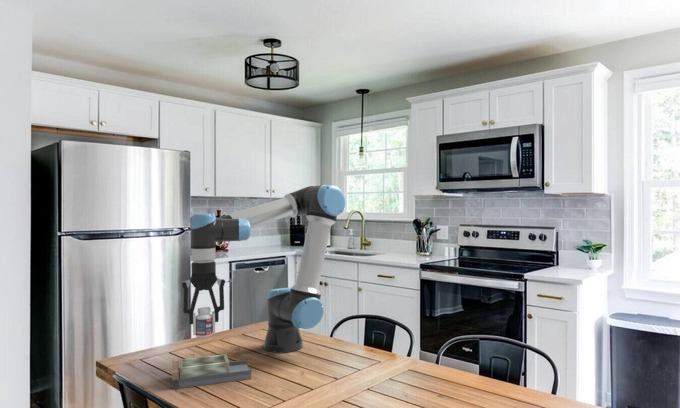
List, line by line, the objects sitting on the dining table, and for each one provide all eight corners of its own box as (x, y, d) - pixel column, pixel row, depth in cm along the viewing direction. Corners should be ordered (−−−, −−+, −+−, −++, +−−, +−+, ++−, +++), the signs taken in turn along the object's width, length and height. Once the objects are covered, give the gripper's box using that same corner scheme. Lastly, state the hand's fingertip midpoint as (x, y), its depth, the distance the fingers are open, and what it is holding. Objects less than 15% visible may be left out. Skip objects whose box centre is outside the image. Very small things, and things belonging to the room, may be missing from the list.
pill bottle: (207, 338, 148) (207, 310, 149) (192, 337, 150) (192, 309, 150) (215, 333, 154) (215, 306, 154) (200, 332, 155) (200, 306, 155)
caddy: (226, 366, 158) (226, 354, 158) (229, 375, 150) (229, 362, 150) (179, 371, 153) (179, 359, 153) (179, 381, 145) (179, 368, 145)
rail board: (246, 367, 161) (246, 353, 161) (251, 378, 151) (250, 363, 151) (172, 376, 154) (172, 361, 154) (171, 389, 143) (171, 372, 143)
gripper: (231, 258, 158) (231, 327, 158) (173, 261, 152) (174, 332, 152) (233, 261, 151) (234, 333, 151) (173, 263, 145) (174, 339, 145)
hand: (204, 332), depth 152 cm, fingers closed on pill bottle, 5 cm apart
